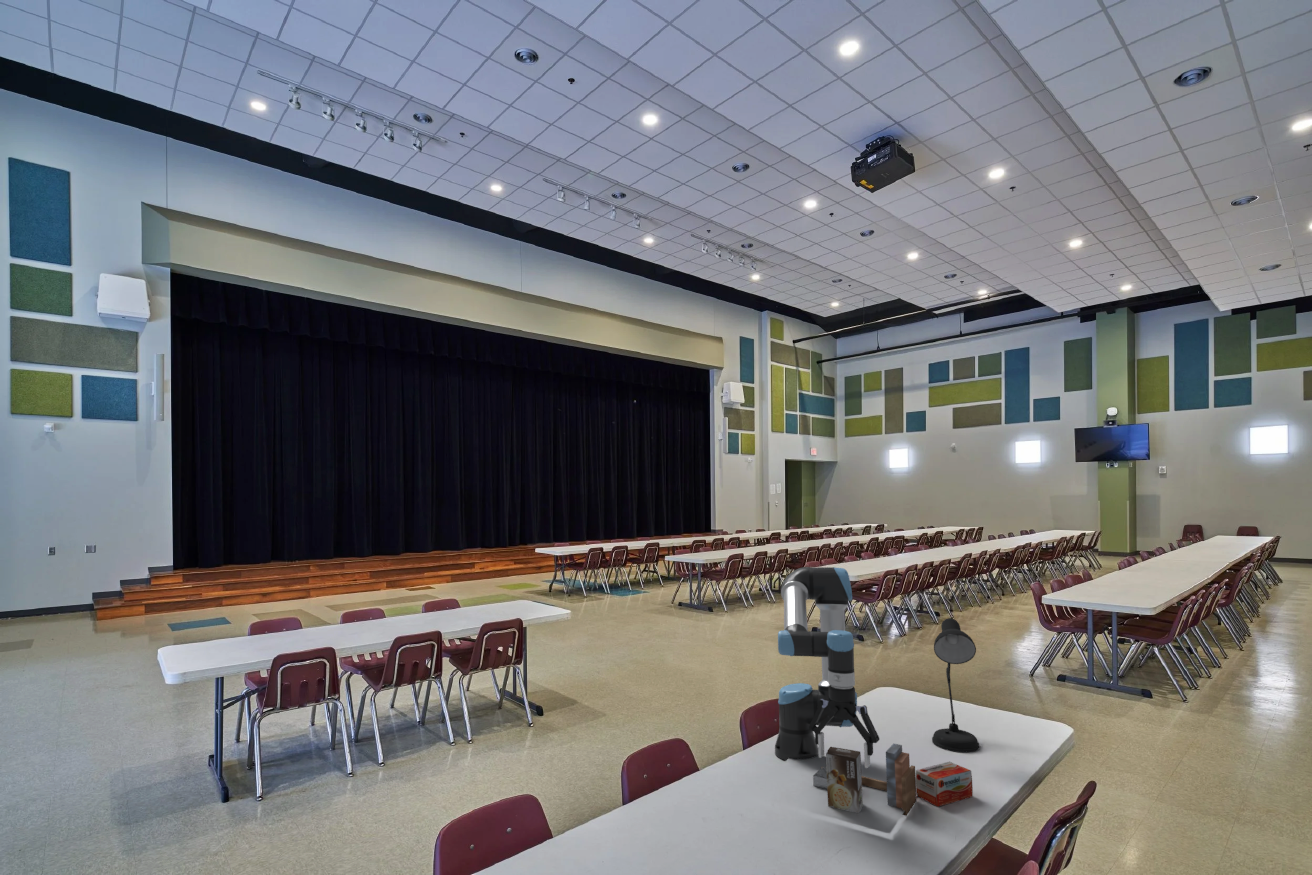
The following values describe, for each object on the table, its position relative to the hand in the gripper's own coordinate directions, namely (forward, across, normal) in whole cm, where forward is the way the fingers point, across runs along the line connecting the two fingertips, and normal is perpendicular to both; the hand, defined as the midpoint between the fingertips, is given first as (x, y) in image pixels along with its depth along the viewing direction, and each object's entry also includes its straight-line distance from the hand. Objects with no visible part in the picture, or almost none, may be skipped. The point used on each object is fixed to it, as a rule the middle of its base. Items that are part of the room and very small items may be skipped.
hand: (844, 761), depth 192 cm
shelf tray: (+13, +1, +12) cm, 18 cm away
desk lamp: (+13, +16, +71) cm, 74 cm away
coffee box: (+14, 0, 0) cm, 14 cm away
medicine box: (+14, +22, +25) cm, 36 cm away
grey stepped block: (+12, -9, +12) cm, 19 cm away
